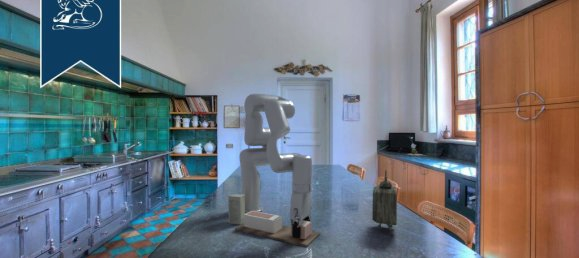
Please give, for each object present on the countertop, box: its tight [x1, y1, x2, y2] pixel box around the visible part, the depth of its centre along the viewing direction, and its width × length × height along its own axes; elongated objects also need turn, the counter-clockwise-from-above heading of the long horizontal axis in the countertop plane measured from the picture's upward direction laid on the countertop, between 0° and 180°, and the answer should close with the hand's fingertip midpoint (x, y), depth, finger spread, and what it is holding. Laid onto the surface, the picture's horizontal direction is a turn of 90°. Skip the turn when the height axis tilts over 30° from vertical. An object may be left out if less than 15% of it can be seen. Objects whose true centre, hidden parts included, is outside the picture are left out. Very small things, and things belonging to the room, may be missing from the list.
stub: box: [290, 220, 313, 239], centre depth 103 cm, size 6×6×5 cm
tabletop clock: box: [371, 169, 398, 236], centre depth 112 cm, size 14×9×25 cm, turn 160°
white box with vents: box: [243, 211, 283, 233], centre depth 111 cm, size 15×6×5 cm, turn 62°
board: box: [235, 223, 321, 248], centre depth 108 cm, size 32×12×1 cm, turn 62°
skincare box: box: [227, 193, 245, 226], centre depth 119 cm, size 6×4×12 cm
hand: (301, 232), depth 103 cm, fingers open, 8 cm apart
